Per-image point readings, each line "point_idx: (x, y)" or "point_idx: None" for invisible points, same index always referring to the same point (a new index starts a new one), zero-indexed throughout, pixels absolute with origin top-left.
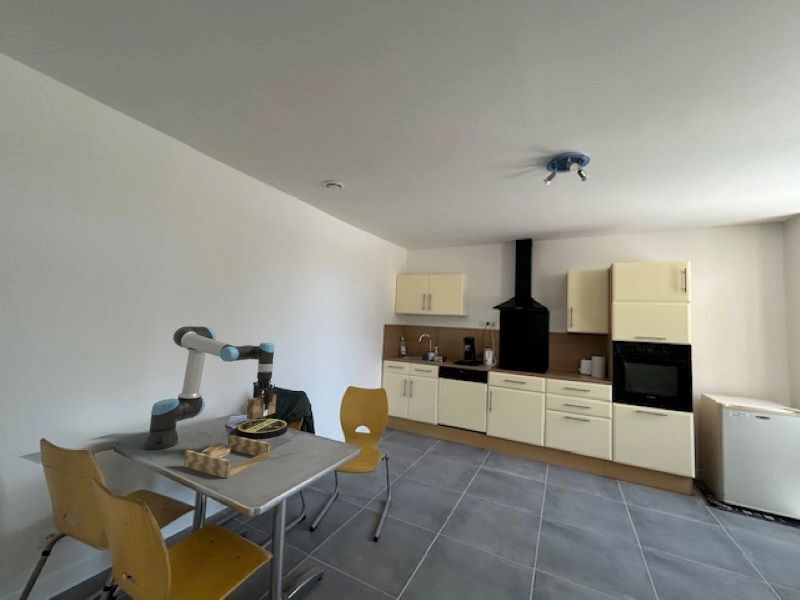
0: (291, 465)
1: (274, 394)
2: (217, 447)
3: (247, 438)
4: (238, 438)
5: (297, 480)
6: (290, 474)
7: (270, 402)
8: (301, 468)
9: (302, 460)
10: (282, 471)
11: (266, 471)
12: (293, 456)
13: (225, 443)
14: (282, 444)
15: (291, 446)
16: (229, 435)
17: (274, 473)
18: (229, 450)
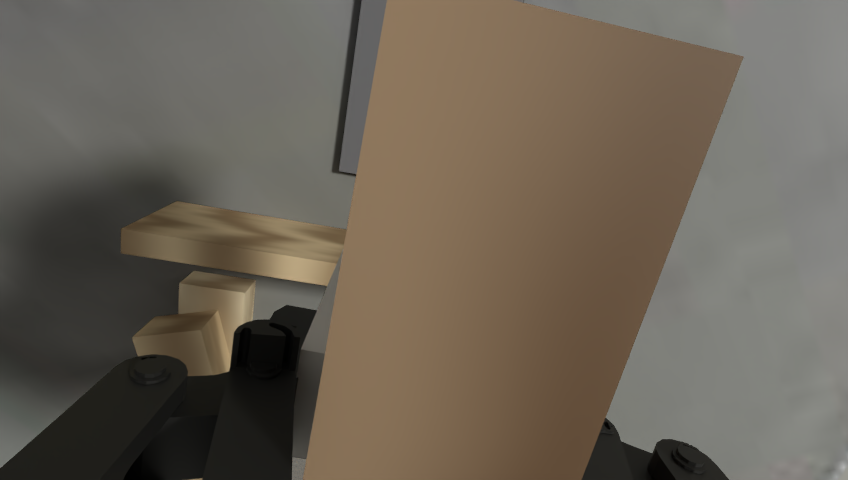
0: (731, 327)
1: (641, 65)
2: None
3: (327, 263)
4: (246, 270)
5: (814, 460)
6: (761, 419)
7: (653, 453)
8: (802, 345)
9: (779, 245)
10: (706, 402)
11: (621, 423)
12: (699, 203)
13: (201, 332)
14: (522, 2)
15: (614, 20)
16: (122, 244)
17: (673, 430)
18: (248, 295)
